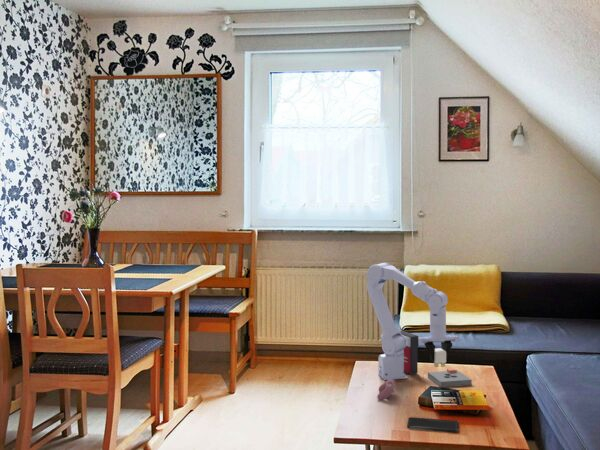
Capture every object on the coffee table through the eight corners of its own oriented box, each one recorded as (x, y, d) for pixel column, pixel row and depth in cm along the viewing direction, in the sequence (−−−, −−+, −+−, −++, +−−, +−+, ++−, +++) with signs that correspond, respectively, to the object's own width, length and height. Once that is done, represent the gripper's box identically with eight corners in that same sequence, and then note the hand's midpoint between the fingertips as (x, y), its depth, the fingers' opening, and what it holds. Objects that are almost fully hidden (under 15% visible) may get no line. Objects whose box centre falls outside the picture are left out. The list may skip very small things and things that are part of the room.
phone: (458, 430, 169) (406, 426, 173) (458, 434, 169) (406, 429, 173) (458, 420, 177) (408, 416, 181) (458, 424, 177) (408, 420, 181)
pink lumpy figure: (388, 405, 197) (397, 388, 196) (376, 399, 198) (385, 381, 197) (389, 396, 207) (398, 379, 206) (377, 389, 207) (386, 372, 206)
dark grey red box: (393, 368, 235) (393, 331, 235) (402, 366, 237) (402, 330, 236) (409, 375, 225) (409, 337, 225) (418, 373, 227) (418, 335, 226)
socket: (440, 387, 210) (440, 379, 210) (427, 377, 222) (427, 369, 222) (471, 384, 212) (471, 376, 212) (457, 375, 224) (457, 367, 224)
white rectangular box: (435, 367, 211) (435, 352, 210) (430, 364, 216) (430, 348, 215) (446, 367, 211) (446, 351, 211) (440, 363, 216) (440, 348, 216)
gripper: (423, 328, 208) (423, 365, 208) (461, 326, 210) (461, 363, 211) (416, 324, 215) (416, 360, 215) (453, 322, 217) (453, 358, 218)
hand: (438, 361), depth 213 cm, fingers closed on white rectangular box, 4 cm apart
